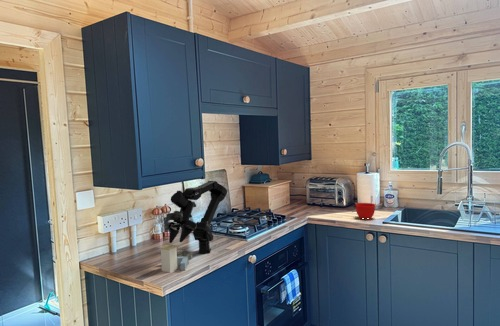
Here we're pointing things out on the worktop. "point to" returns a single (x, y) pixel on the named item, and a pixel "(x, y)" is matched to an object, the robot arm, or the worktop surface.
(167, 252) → the tea tin
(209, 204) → the robot arm
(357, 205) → the ceramic cup
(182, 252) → the egg carton
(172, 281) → the worktop surface
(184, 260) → the corner fence
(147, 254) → the worktop surface
